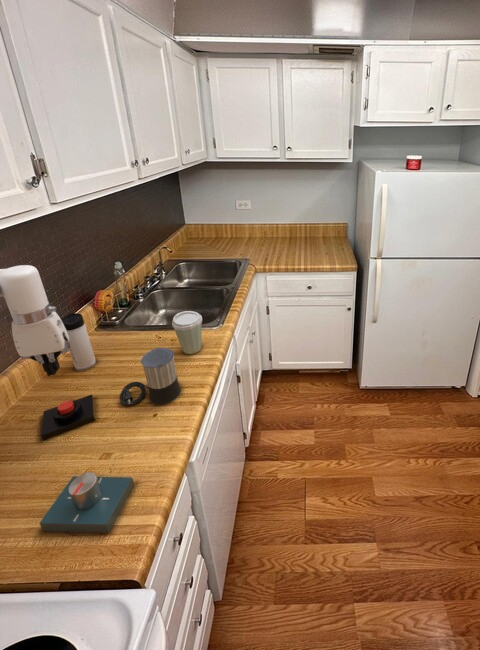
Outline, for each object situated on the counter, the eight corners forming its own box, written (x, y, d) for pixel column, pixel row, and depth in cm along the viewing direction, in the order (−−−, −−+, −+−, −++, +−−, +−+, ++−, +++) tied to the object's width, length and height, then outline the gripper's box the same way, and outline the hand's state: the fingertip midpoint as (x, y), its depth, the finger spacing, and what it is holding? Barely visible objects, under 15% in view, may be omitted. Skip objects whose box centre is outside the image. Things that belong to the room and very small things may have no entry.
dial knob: (85, 486, 75) (79, 470, 73) (106, 487, 75) (101, 471, 73) (69, 510, 71) (62, 493, 69) (91, 511, 70) (85, 494, 68)
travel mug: (96, 357, 123) (82, 310, 115) (96, 367, 118) (82, 318, 110) (75, 363, 119) (60, 315, 112) (75, 373, 114) (58, 324, 107)
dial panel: (43, 532, 69) (38, 522, 68) (76, 484, 79) (72, 475, 77) (109, 533, 69) (106, 524, 68) (134, 485, 78) (132, 476, 77)
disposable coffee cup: (209, 341, 132) (205, 308, 126) (202, 359, 122) (197, 324, 116) (183, 342, 132) (177, 309, 126) (173, 359, 122) (166, 324, 116)
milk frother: (186, 394, 106) (179, 356, 100) (134, 424, 95) (123, 383, 89) (166, 373, 115) (158, 337, 109) (116, 399, 104) (105, 360, 98)
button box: (43, 441, 89) (38, 430, 88) (45, 416, 97) (41, 406, 96) (95, 421, 96) (92, 411, 94) (94, 399, 103) (90, 389, 102)
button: (59, 416, 93) (57, 412, 92) (59, 408, 96) (57, 403, 95) (74, 411, 95) (72, 406, 94) (74, 403, 97) (73, 398, 97)
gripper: (71, 302, 89) (88, 358, 96) (3, 311, 84) (26, 369, 91) (62, 316, 82) (81, 375, 89) (-13, 326, 78) (13, 388, 85)
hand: (53, 372), depth 90 cm, fingers closed
